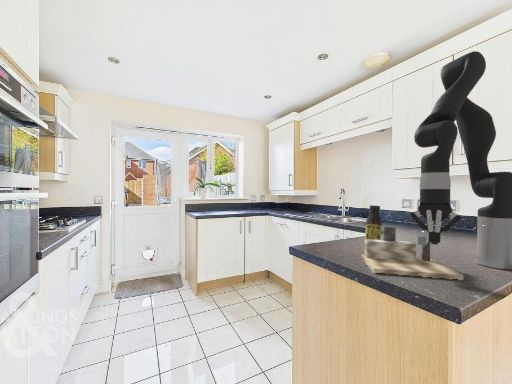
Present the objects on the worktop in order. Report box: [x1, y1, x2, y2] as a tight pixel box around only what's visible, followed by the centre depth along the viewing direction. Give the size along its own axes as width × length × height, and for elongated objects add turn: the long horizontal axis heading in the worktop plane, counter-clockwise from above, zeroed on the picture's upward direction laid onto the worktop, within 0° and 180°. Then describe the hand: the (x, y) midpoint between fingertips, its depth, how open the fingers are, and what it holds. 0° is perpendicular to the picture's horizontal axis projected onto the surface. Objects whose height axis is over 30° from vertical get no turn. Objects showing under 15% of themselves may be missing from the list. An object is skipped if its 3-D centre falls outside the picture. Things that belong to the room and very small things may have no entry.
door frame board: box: [360, 226, 464, 281], centre depth 80 cm, size 24×18×12 cm
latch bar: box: [417, 230, 429, 246], centre depth 79 cm, size 16×3×2 cm, turn 140°
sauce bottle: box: [364, 204, 383, 240], centre depth 104 cm, size 6×6×20 cm
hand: (434, 244), depth 73 cm, fingers closed
